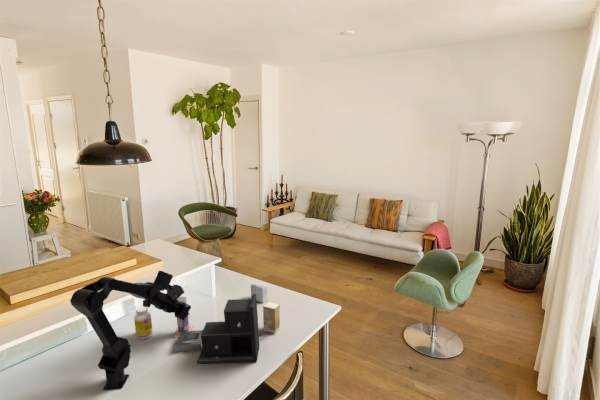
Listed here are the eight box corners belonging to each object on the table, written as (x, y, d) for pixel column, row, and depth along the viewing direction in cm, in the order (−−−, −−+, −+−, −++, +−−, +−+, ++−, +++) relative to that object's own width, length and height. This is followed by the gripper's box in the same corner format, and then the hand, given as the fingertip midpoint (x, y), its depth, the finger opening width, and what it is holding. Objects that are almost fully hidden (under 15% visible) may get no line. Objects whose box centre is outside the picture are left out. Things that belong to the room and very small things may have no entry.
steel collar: (201, 350, 139) (200, 344, 138) (175, 352, 138) (175, 346, 137) (205, 336, 149) (205, 329, 148) (181, 337, 148) (181, 331, 147)
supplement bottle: (146, 340, 146) (143, 313, 144) (133, 339, 147) (129, 312, 145) (156, 331, 153) (153, 305, 150) (143, 330, 154) (139, 304, 151)
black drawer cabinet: (196, 364, 131) (191, 308, 126) (203, 347, 141) (199, 294, 137) (257, 363, 131) (254, 307, 126) (259, 345, 142) (257, 293, 137)
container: (188, 326, 154) (186, 295, 151) (189, 331, 150) (186, 300, 147) (177, 328, 152) (174, 297, 149) (178, 334, 148) (175, 302, 145)
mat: (190, 336, 148) (190, 335, 148) (174, 337, 148) (174, 337, 148) (193, 327, 155) (193, 326, 155) (178, 328, 155) (178, 328, 155)
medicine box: (268, 299, 180) (267, 284, 178) (263, 303, 176) (262, 288, 174) (256, 296, 184) (255, 281, 182) (251, 299, 180) (250, 284, 178)
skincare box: (263, 331, 152) (262, 305, 149) (268, 326, 155) (267, 301, 153) (275, 334, 149) (274, 308, 146) (280, 329, 153) (279, 304, 150)
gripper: (185, 287, 138) (208, 301, 149) (158, 277, 148) (181, 291, 159) (169, 313, 133) (194, 326, 144) (142, 301, 144) (168, 313, 155)
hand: (184, 313), depth 151 cm, fingers closed on container, 5 cm apart
